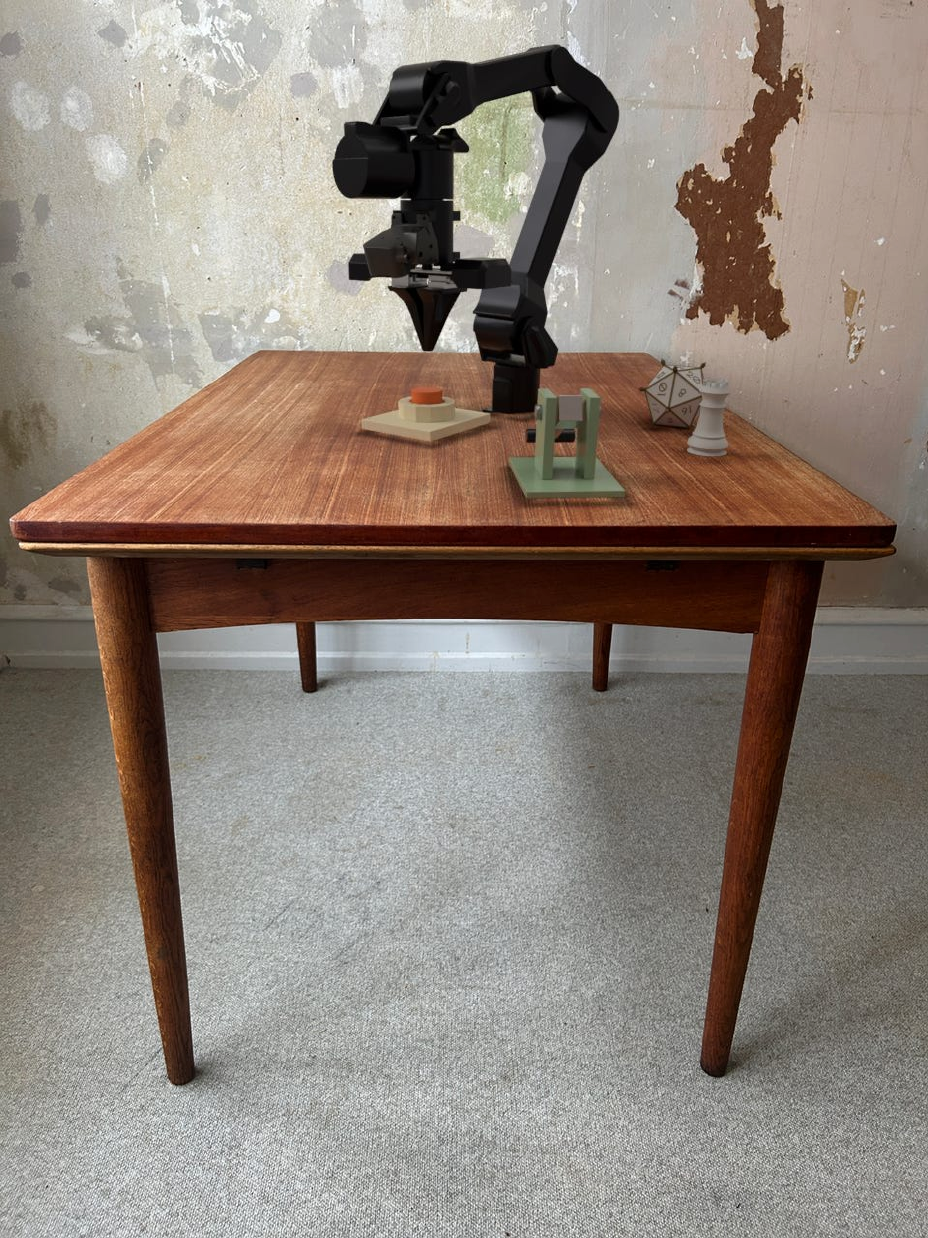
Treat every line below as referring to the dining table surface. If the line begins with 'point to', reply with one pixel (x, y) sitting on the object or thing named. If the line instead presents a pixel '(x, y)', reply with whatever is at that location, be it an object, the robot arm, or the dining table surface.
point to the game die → (675, 395)
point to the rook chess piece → (710, 420)
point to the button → (426, 395)
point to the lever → (563, 419)
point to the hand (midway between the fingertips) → (427, 351)
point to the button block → (426, 420)
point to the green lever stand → (565, 473)
